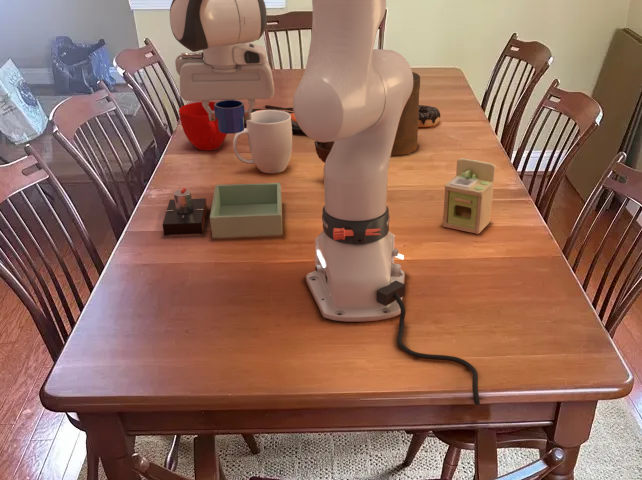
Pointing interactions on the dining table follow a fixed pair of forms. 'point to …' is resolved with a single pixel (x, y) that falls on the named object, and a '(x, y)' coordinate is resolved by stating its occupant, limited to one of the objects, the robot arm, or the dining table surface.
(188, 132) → the ceramic cup
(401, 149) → the wooden container
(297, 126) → the sushi plate
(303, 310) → the dining table surface
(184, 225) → the black dial base
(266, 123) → the mug
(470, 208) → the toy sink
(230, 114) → the blue cup
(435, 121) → the donut
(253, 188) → the basin
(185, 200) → the rotary knob
